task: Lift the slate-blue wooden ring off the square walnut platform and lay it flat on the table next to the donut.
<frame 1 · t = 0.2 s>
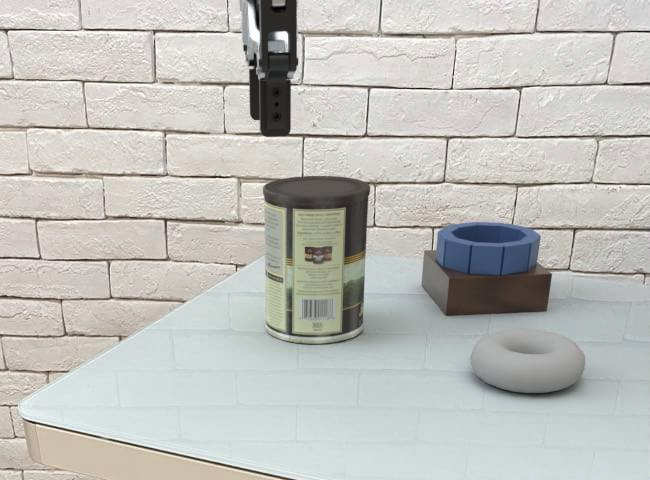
hand: (269, 127, 74), 22 cm above the table, tool pointing down, fingers open, 8 cm apart
platform: (481, 297, 107), on the table
donut: (524, 379, 87), on the table
ring: (485, 261, 105), point 4 cm above the table, touching platform
coffee can: (313, 329, 100), on the table
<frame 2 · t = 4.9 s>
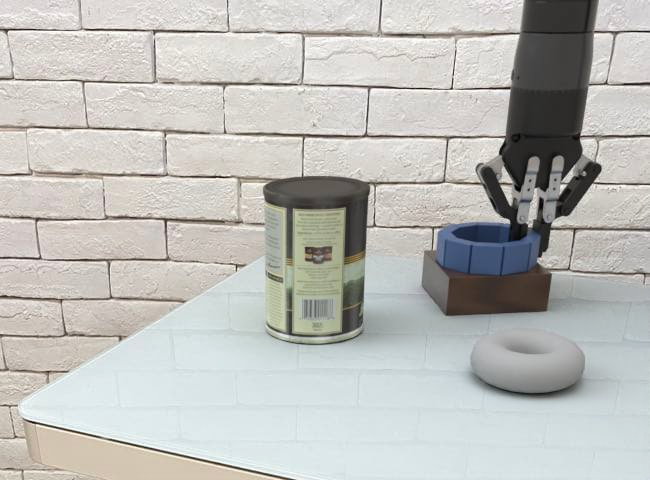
hand: (526, 255, 105), 4 cm above the table, tool pointing down, fingers closed on ring
ring: (485, 261, 105), point 4 cm above the table, touching gripper, platform
everything else where it was.
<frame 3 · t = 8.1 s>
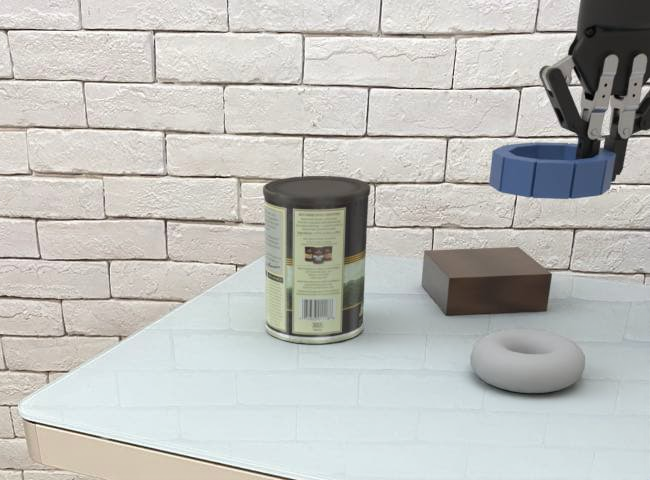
hand: (596, 180, 89), 15 cm above the table, tool pointing down, fingers closed on ring
ring: (548, 186, 89), point 14 cm above the table, touching gripper
everything else where it was.
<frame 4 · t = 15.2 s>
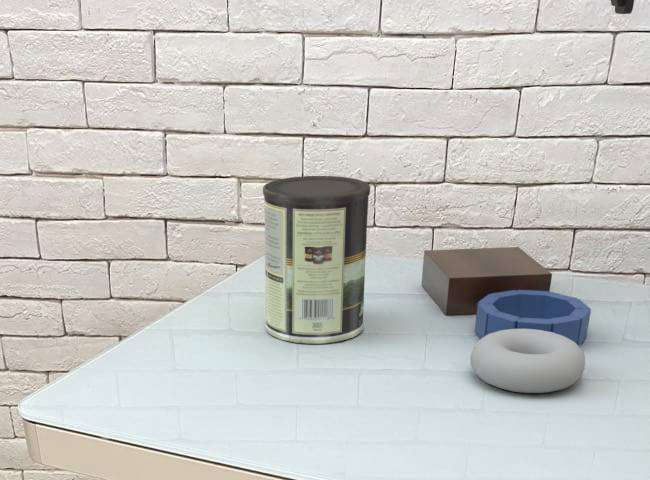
ring: (529, 335, 96), on the table
everything else where it was.
at the end: ring touching table; ring on the table; ring 11.7 cm from the donut (horizontally) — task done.
